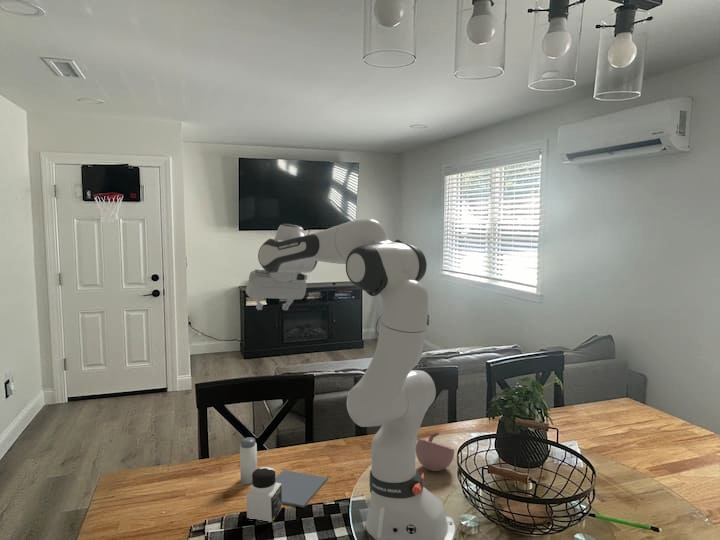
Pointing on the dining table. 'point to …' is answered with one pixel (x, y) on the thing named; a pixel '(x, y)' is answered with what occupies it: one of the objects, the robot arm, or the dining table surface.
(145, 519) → the dining table surface
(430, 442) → the mortar and pestle
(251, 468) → the white pill bottle
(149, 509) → the dining table surface
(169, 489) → the dining table surface
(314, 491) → the slate mat
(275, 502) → the medicine bottle
